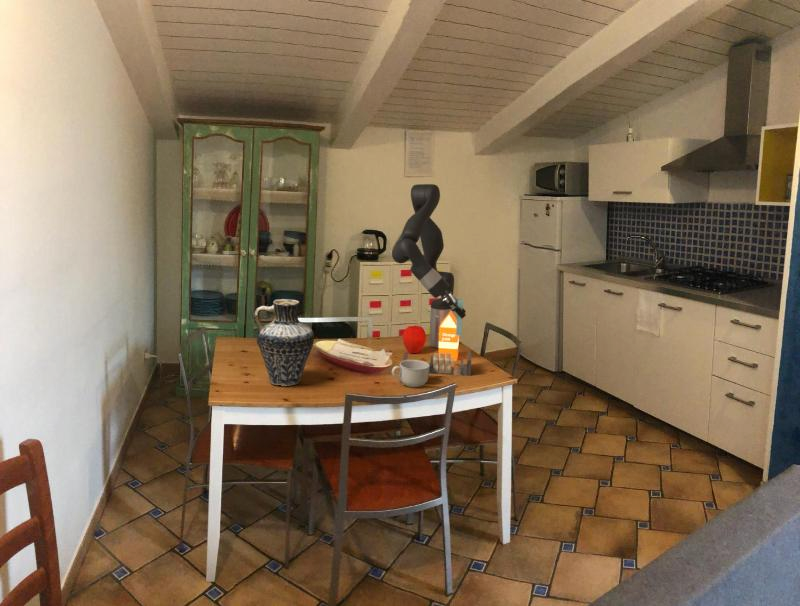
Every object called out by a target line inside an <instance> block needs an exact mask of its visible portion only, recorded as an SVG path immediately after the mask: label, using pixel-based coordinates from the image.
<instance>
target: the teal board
mask: <svg viewBox="0 0 800 606" xmlns="http://www.w3.org/2000/svg"><path fill="white" fill-rule="evenodd" d="M457 300H458V301H457V305H458V306H459V307H460V309H461V310H463V308H464V307H463V306H464V299H463V298H457ZM456 320H457V323H456V335H459V336H462V330H463V329H462V328H463V318H461V317H460V316H459V315H458V314H457V313H456Z"/></svg>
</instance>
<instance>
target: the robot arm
mask: <svg viewBox="0 0 800 606" xmlns="http://www.w3.org/2000/svg"><path fill="white" fill-rule="evenodd" d="M440 198H441V191H440V188H439V186H438V185H437V184H433V183H420V184H414V185H413V186H412V187H411V189H410V199H411V204H412V208H413V211H414V214H412V215H411V216H410V217H409V218H408V219H407V221H406V222H405V225H404V227H403V228H402V231H401V235H400V236H399V238H398V239H397V241H396V243H394V246H393V248H392V251H391V257H392V259H393V261H395V262H396V263H397V264H405V263H406V262H408V261H409V260H410V262H411V264H412V265H411V266H410V269H409V270H410V272H411V273H412V274H413V276H414V277H415V278H416V279H417V280H418V281H419V282H420V284H421V285H422V286H423V288H424V289H425V290H427V292H428V293H429V294H430V295H431V296H432V297H433V298H434V299H433V300H432V301H431V302H430V320H429V321H430V322H429V347H432V348H435V349H436V348H437V349H439V328H440V324H441V323H442V321H443V320H444V319H445V318H446V316H447V315H448V314H449V312H450V311H451V312H452V313H453V312H454V313H456V315H457V314H458V315H459V316H460V317H461V318H462V319H464V318H465V317H466V316H467V315H466V313H467V312H466V309H465V308H464V307H463V310H461V309H460V307H459V306H458V305H457V301H458V298H456V297H455V296H454V289H455V276H454V274H453V273H452V272H450V271H449V272H448V271H441V270H440V271H439V270H438V268H437V262H438V260H439V258H440V256H441V255H442V253H443V251H444V247H445V243H444V238H443V233H442V230H441V228H440V227H439V226H438V224H437V223H435V222H434V221H433V219H432V218H431V216H432V214H433V213H434V211H435V210H436V209H437V206H438V204H439V202H440V200H441V199H440ZM419 240H420V243H421V247H422V250H423V251H421V250H420V247H419V246H418V245H417V242H419ZM422 252H423V253H422ZM439 297H440V298H439Z"/></svg>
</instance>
